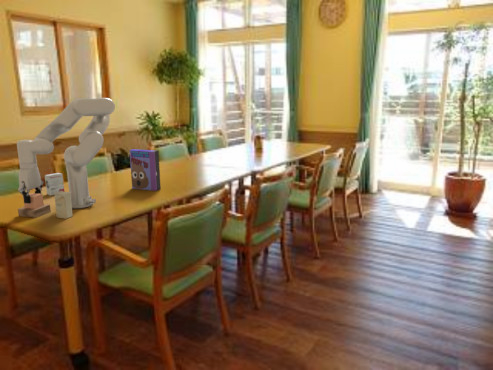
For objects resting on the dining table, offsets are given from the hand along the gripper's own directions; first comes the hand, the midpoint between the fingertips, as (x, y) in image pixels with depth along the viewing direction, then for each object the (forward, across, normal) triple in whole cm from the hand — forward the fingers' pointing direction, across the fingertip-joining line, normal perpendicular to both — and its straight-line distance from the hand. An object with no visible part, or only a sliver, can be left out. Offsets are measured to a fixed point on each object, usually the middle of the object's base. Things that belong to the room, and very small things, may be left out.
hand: (33, 200), depth 200 cm
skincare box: (+7, +2, +18) cm, 19 cm away
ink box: (+7, -37, -15) cm, 41 cm away
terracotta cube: (+3, 0, 0) cm, 3 cm away
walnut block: (+7, 0, 0) cm, 7 cm away
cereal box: (+7, -57, +33) cm, 66 cm away
